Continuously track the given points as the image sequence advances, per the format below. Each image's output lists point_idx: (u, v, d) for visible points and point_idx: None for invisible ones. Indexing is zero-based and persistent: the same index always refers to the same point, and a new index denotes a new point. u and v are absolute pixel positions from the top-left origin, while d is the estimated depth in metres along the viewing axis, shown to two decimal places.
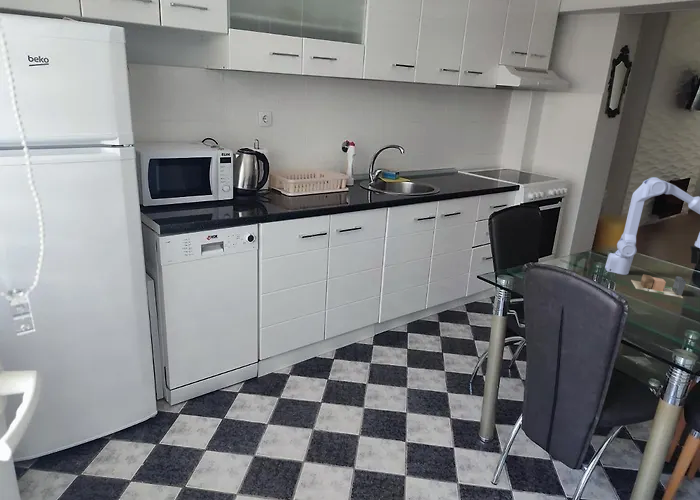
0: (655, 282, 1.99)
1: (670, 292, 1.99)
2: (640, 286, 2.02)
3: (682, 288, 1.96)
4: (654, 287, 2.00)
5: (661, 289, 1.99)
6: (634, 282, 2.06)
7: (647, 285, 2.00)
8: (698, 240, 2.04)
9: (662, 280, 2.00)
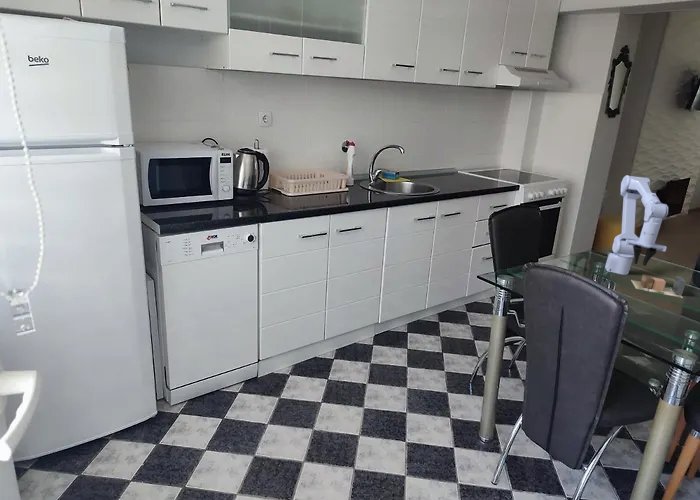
0: (655, 282, 1.99)
1: (670, 292, 1.99)
2: (640, 286, 2.02)
3: (682, 288, 1.96)
4: (654, 287, 2.00)
5: (661, 289, 1.99)
6: (634, 282, 2.06)
7: (647, 285, 2.00)
8: None
9: (662, 280, 2.00)
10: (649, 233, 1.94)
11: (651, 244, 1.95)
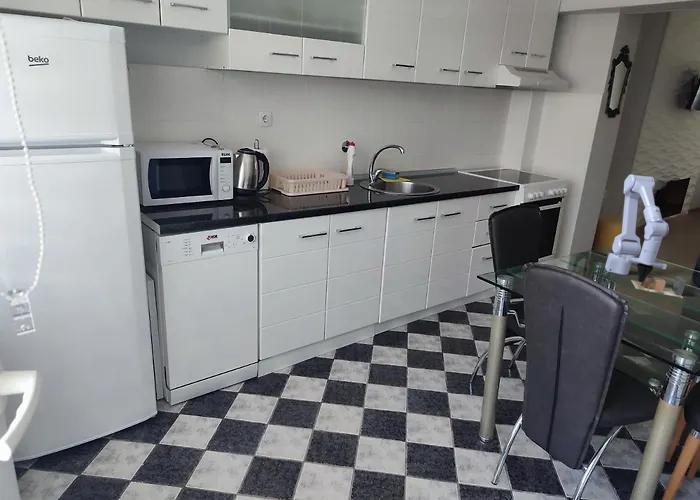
0: (655, 282, 1.99)
1: (670, 292, 1.99)
2: (640, 286, 2.02)
3: (682, 288, 1.96)
4: (654, 287, 2.00)
5: (661, 289, 1.99)
6: (634, 282, 2.06)
7: (648, 285, 2.00)
8: None
9: (662, 280, 2.00)
10: (650, 251, 1.96)
11: (651, 262, 1.97)
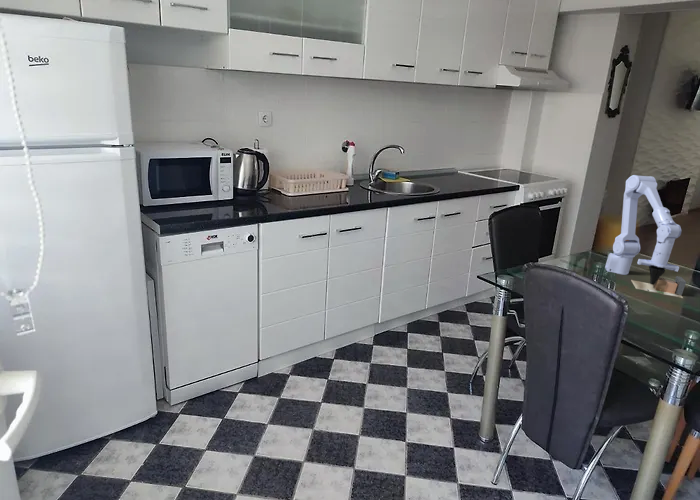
0: (667, 284, 1.98)
1: None
2: (640, 286, 2.02)
3: (682, 288, 1.96)
4: (666, 289, 1.99)
5: (673, 291, 1.98)
6: (634, 282, 2.06)
7: (660, 288, 1.99)
8: None
9: (674, 282, 1.98)
10: (665, 254, 1.94)
11: (664, 264, 1.96)
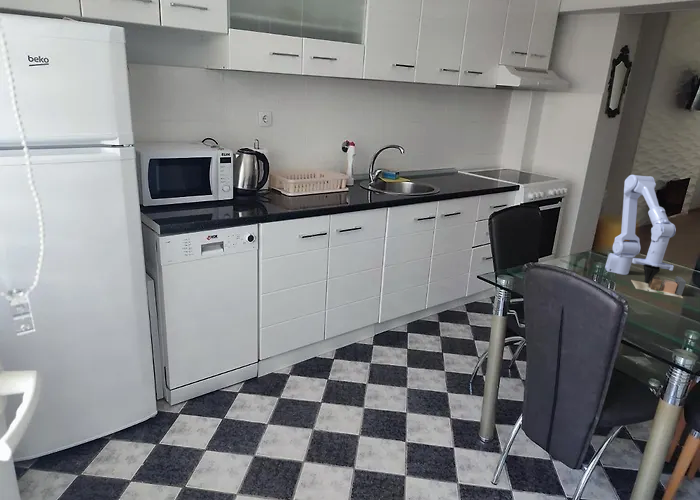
0: (667, 284, 1.98)
1: None
2: (640, 286, 2.02)
3: (682, 288, 1.96)
4: (666, 289, 1.99)
5: (673, 291, 1.98)
6: (634, 282, 2.06)
7: (655, 287, 1.99)
8: None
9: (674, 282, 1.98)
10: (658, 253, 1.95)
11: (658, 263, 1.96)
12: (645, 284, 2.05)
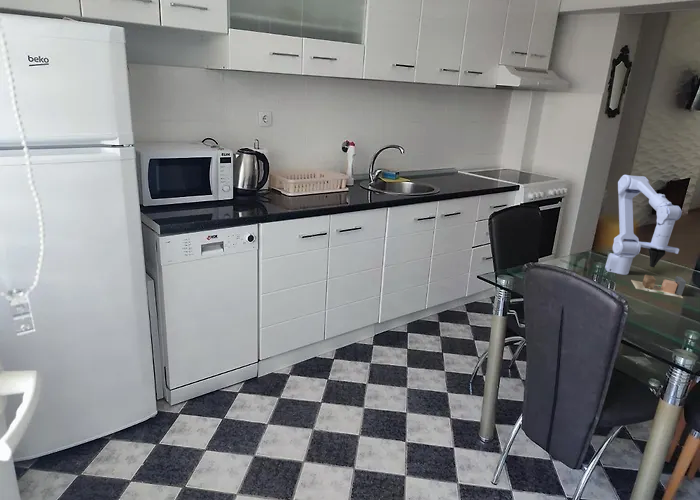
0: (667, 284, 1.98)
1: None
2: (640, 286, 2.02)
3: (682, 288, 1.96)
4: (666, 289, 1.99)
5: (673, 291, 1.98)
6: (634, 282, 2.06)
7: (649, 285, 2.00)
8: None
9: (674, 282, 1.98)
10: (664, 236, 1.93)
11: (664, 246, 1.94)
12: None
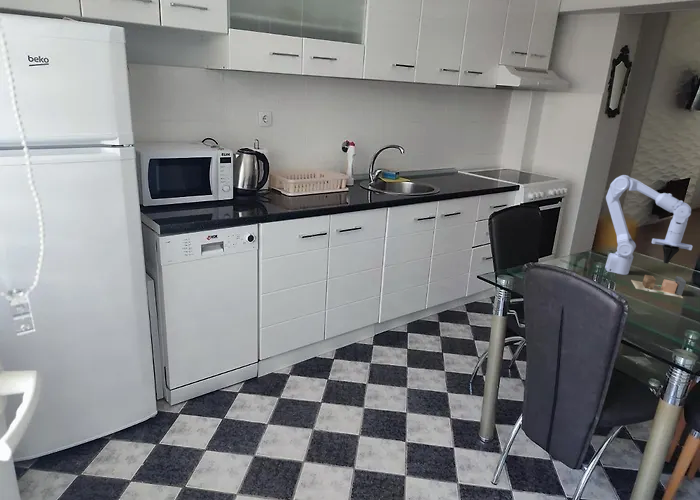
0: (667, 284, 1.98)
1: None
2: (640, 286, 2.02)
3: (682, 288, 1.96)
4: (666, 289, 1.99)
5: (673, 291, 1.98)
6: (634, 282, 2.06)
7: (649, 285, 2.00)
8: None
9: (674, 282, 1.98)
10: (683, 233, 2.01)
11: (677, 243, 2.01)
12: None
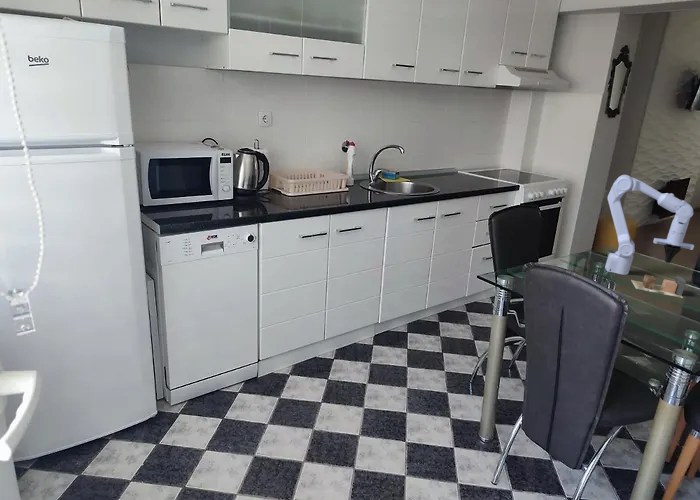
0: (667, 284, 1.98)
1: None
2: (640, 286, 2.02)
3: (682, 288, 1.96)
4: (666, 289, 1.99)
5: (673, 291, 1.98)
6: (634, 282, 2.06)
7: (649, 285, 2.00)
8: None
9: (674, 282, 1.98)
10: (684, 233, 2.02)
11: (679, 243, 2.03)
12: None
